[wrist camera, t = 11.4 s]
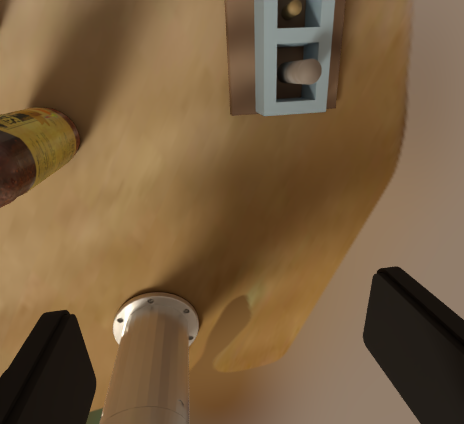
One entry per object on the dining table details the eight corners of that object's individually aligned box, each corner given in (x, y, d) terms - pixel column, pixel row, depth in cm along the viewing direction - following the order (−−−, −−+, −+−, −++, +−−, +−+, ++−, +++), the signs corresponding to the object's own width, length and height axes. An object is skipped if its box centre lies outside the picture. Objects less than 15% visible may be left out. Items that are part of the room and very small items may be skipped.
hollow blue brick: (310, 108, 33) (325, 111, 30) (255, 111, 33) (264, 116, 29) (319, -24, 28) (338, -38, 25) (253, -22, 28) (263, -37, 24)
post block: (329, 106, 35) (369, 115, 28) (230, 114, 34) (243, 124, 26) (342, -42, 29) (397, -84, 22) (222, -40, 28) (236, -84, 20)
